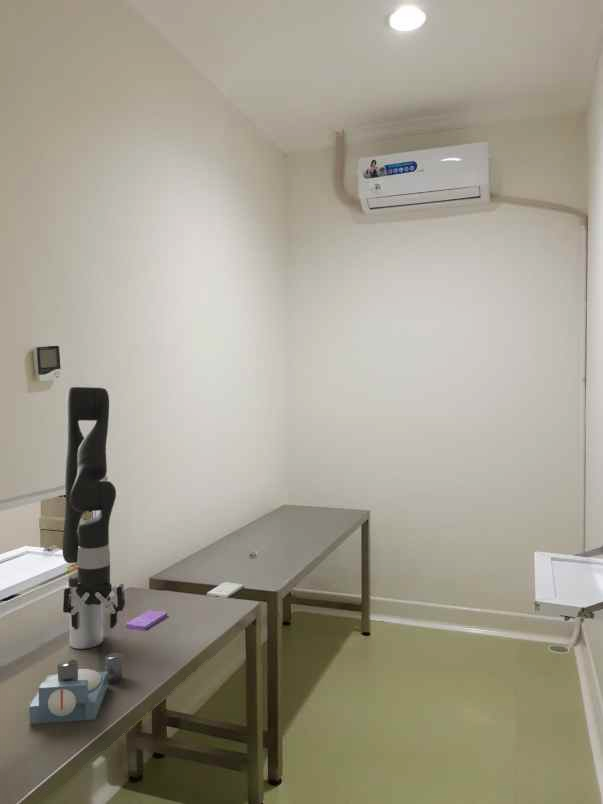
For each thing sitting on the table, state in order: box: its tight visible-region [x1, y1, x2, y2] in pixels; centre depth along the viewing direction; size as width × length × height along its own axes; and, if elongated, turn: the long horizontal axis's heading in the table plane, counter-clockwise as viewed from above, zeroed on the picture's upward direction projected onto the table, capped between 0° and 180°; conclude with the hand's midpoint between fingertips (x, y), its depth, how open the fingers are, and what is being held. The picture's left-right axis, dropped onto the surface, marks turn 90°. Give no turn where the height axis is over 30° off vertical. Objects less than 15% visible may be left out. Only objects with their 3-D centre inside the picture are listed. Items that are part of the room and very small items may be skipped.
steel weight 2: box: [104, 652, 124, 685], centre depth 159 cm, size 4×4×6 cm
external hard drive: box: [206, 581, 244, 599], centre depth 226 cm, size 2×8×12 cm
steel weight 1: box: [57, 659, 79, 682], centre depth 144 cm, size 4×4×6 cm
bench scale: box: [29, 668, 108, 725], centre depth 146 cm, size 16×14×8 cm
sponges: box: [125, 609, 168, 631], centre depth 197 cm, size 7×13×2 cm, turn 159°
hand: (94, 627), depth 153 cm, fingers open, 8 cm apart
